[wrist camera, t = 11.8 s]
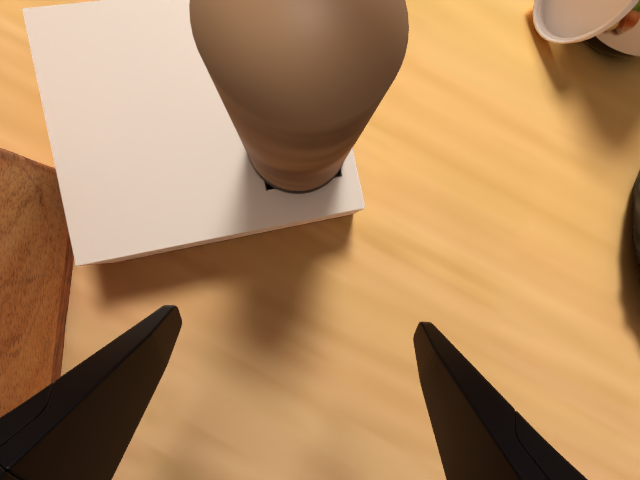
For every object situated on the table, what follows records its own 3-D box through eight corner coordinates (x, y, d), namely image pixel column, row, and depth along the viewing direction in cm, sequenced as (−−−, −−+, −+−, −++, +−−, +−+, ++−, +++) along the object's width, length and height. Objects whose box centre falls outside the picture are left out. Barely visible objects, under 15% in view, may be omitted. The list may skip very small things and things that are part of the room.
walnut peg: (279, 216, 20) (260, 166, 8) (236, 139, 20) (143, -42, 7) (353, 176, 21) (447, 69, 8) (312, 101, 20) (344, -124, 8)
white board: (114, 262, 20) (75, 266, 16) (70, 50, 20) (21, 8, 16) (353, 214, 22) (365, 207, 18) (312, 21, 22) (316, -22, 18)
